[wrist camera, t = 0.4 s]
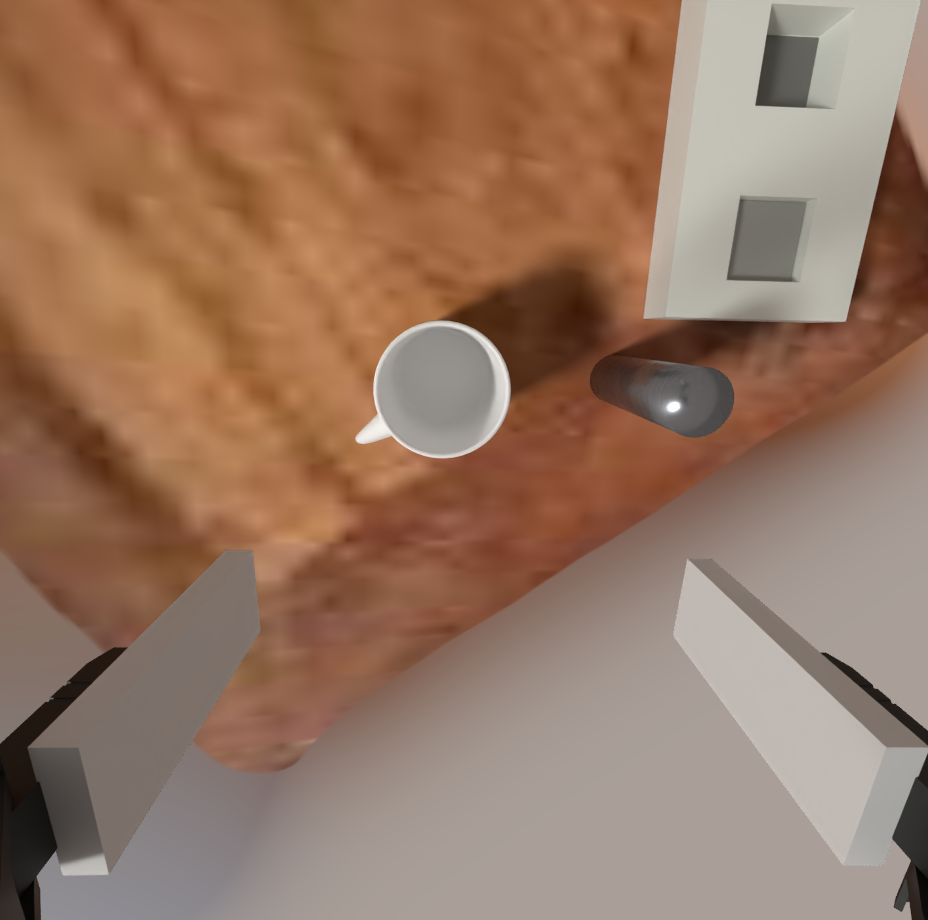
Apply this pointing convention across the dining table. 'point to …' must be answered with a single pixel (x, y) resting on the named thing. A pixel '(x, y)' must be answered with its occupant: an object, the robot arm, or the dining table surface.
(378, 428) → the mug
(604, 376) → the steel pin
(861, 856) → the robot arm
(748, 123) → the bore block
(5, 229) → the dining table surface
